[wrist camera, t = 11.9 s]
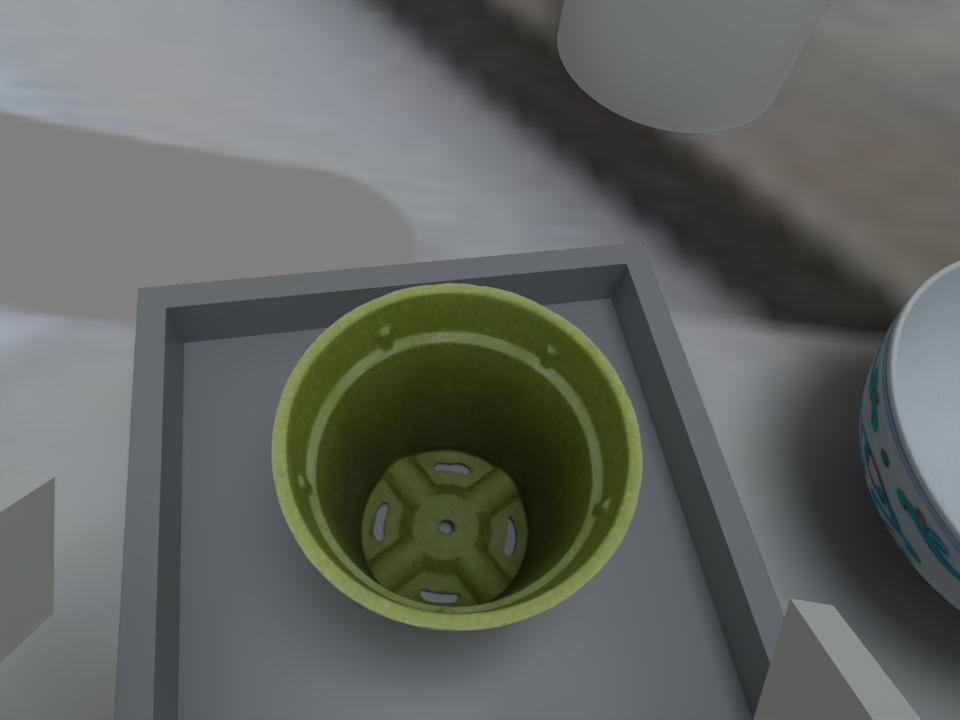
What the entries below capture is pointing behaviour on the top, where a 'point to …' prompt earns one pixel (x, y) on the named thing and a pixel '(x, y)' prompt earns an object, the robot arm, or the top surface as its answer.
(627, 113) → the canister
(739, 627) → the tray
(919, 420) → the chinaware
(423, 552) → the plant pot
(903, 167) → the top surface
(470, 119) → the top surface
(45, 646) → the top surface
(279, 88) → the top surface
